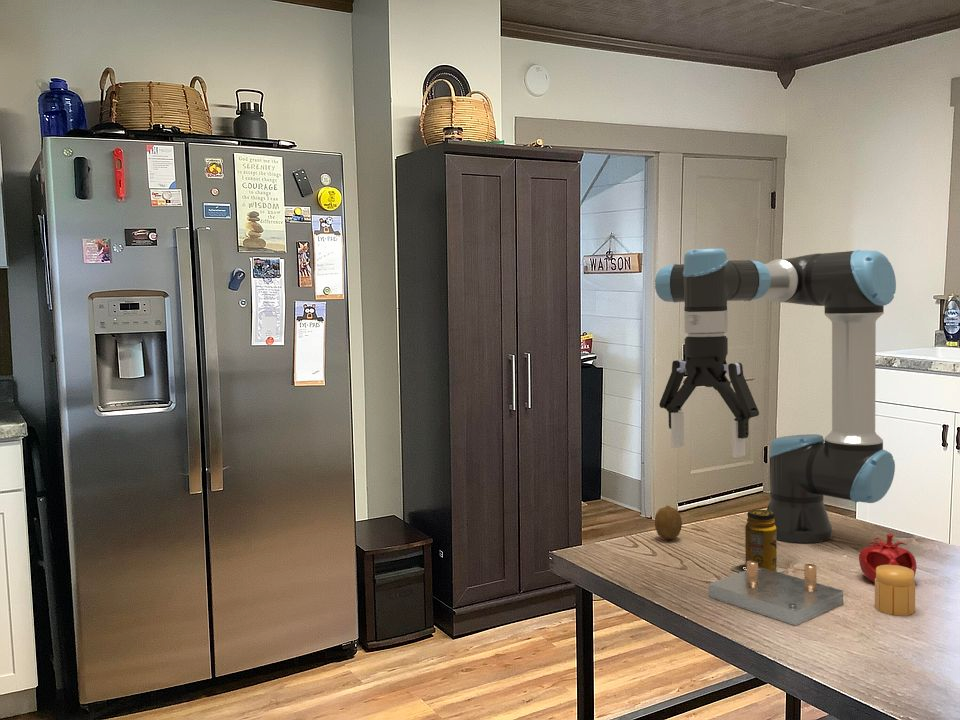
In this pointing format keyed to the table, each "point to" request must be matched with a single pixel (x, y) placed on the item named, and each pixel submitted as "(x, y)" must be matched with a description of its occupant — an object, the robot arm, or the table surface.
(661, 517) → the fruit
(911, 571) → the wire nut
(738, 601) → the plate
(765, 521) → the condiment
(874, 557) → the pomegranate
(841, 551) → the table surface
